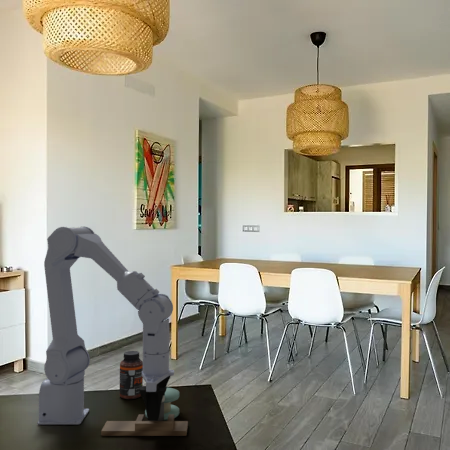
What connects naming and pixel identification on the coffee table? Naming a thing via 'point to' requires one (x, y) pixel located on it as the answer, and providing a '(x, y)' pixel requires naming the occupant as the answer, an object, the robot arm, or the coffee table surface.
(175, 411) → the disc
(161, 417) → the plug
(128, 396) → the supplement bottle
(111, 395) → the coffee table surface
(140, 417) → the board
